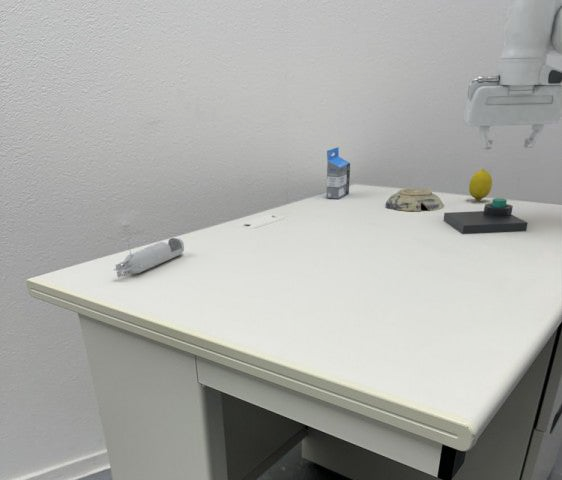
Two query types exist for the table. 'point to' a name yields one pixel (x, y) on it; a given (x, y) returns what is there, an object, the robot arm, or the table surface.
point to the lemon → (480, 184)
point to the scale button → (499, 203)
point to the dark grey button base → (486, 220)
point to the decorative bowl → (414, 200)
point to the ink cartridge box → (337, 175)
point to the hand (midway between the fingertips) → (507, 148)
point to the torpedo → (150, 257)
